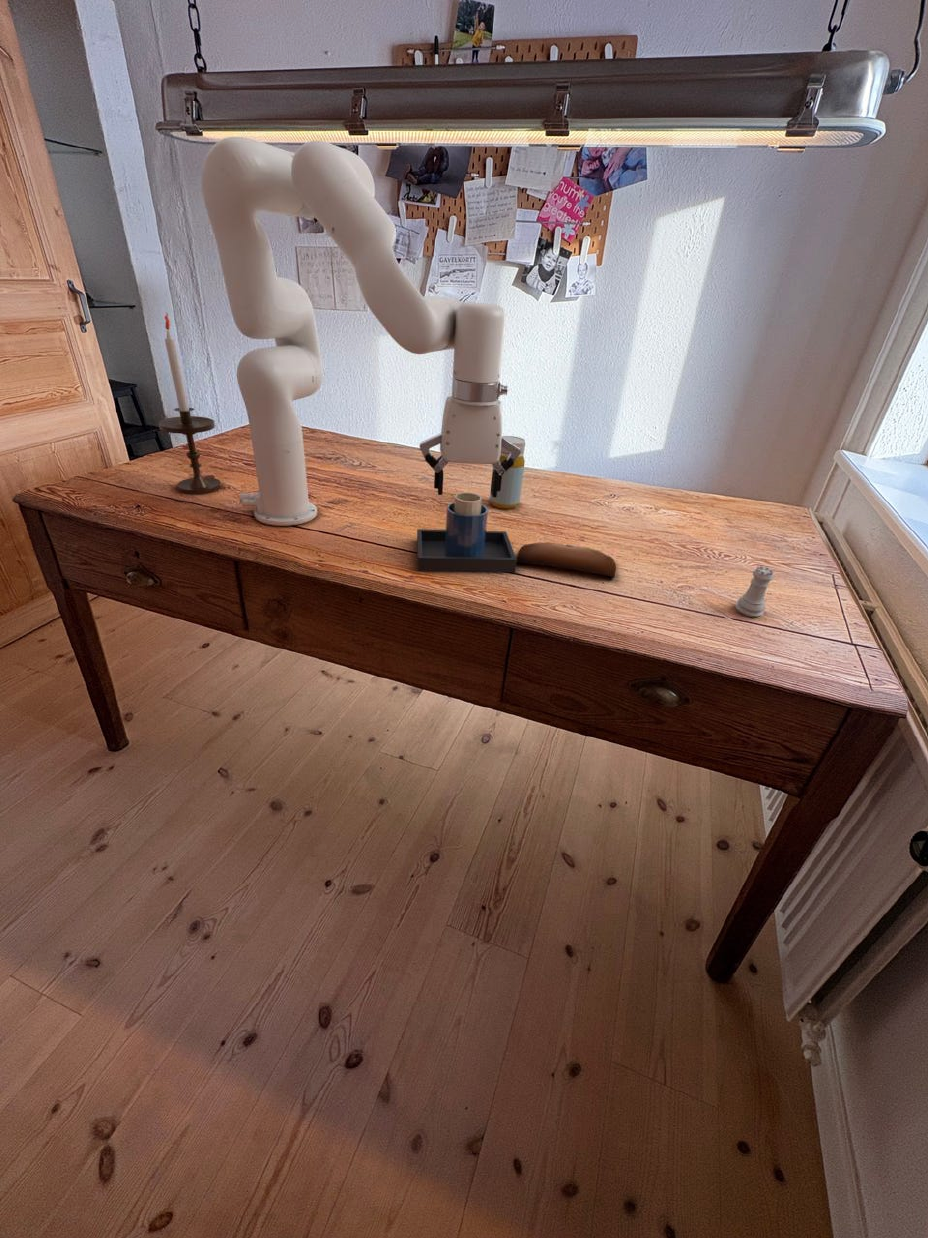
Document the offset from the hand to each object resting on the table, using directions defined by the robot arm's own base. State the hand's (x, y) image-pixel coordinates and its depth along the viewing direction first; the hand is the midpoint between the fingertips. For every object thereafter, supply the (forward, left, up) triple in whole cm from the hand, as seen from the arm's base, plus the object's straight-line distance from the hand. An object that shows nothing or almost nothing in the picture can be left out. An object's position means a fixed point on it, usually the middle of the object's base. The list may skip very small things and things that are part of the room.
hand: (466, 493), depth 97 cm
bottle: (+12, +28, -12) cm, 33 cm away
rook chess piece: (+47, -19, -12) cm, 53 cm away
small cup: (0, 0, -11) cm, 11 cm away
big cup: (0, 0, -12) cm, 12 cm away
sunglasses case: (+19, -3, -12) cm, 23 cm away
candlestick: (-58, +33, -12) cm, 67 cm away
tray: (0, 0, -12) cm, 12 cm away
